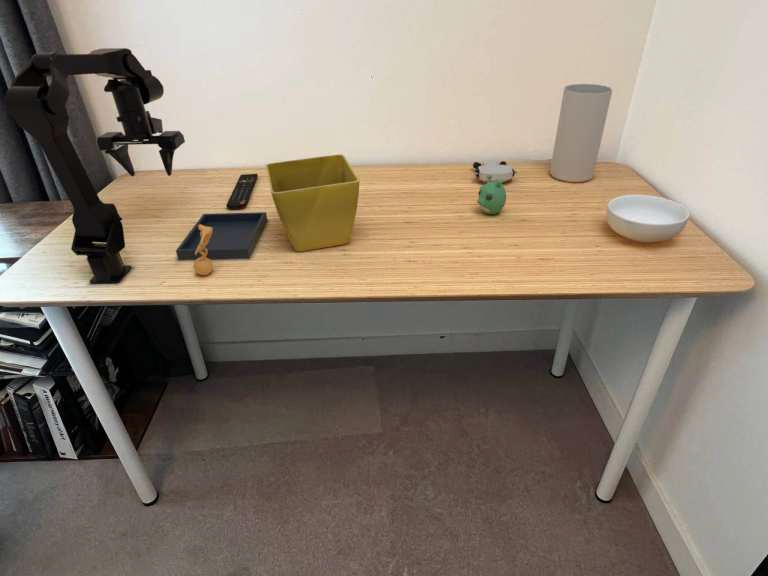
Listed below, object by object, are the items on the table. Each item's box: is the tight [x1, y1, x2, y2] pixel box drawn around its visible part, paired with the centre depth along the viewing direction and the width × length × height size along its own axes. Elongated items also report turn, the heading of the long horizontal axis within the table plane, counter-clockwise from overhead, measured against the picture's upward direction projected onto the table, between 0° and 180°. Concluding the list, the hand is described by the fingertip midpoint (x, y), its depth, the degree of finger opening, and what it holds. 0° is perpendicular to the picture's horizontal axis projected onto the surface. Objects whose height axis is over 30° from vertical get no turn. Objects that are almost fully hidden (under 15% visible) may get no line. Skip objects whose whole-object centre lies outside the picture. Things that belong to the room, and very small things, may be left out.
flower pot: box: [265, 153, 360, 253], centre depth 113 cm, size 19×19×17 cm
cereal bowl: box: [606, 194, 690, 244], centre depth 111 cm, size 17×17×7 cm
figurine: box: [193, 224, 214, 276], centre depth 102 cm, size 8×6×12 cm
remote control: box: [225, 173, 259, 211], centre depth 142 cm, size 5×24×1 cm, turn 4°
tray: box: [175, 211, 268, 261], centre depth 118 cm, size 20×17×2 cm
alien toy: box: [476, 175, 507, 215], centre depth 123 cm, size 7×8×10 cm
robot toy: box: [470, 158, 519, 184], centre depth 145 cm, size 12×4×15 cm
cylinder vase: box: [549, 83, 613, 183], centre depth 139 cm, size 12×12×25 cm
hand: (151, 175), depth 117 cm, fingers open, 9 cm apart
